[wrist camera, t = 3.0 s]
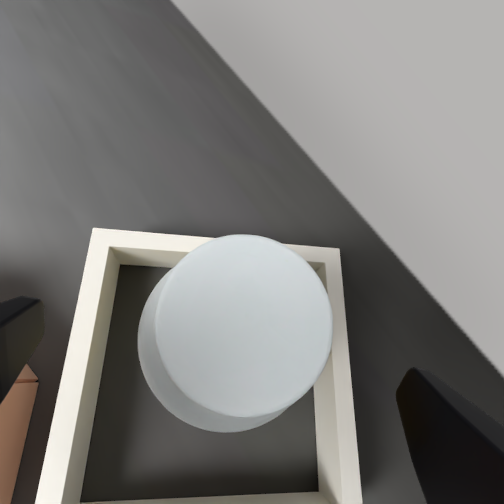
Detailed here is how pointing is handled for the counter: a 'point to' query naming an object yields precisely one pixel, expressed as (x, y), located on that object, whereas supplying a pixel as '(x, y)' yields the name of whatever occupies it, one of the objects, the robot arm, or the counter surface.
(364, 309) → the counter surface
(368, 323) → the counter surface
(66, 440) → the tray
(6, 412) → the bowl
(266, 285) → the supplement bottle
